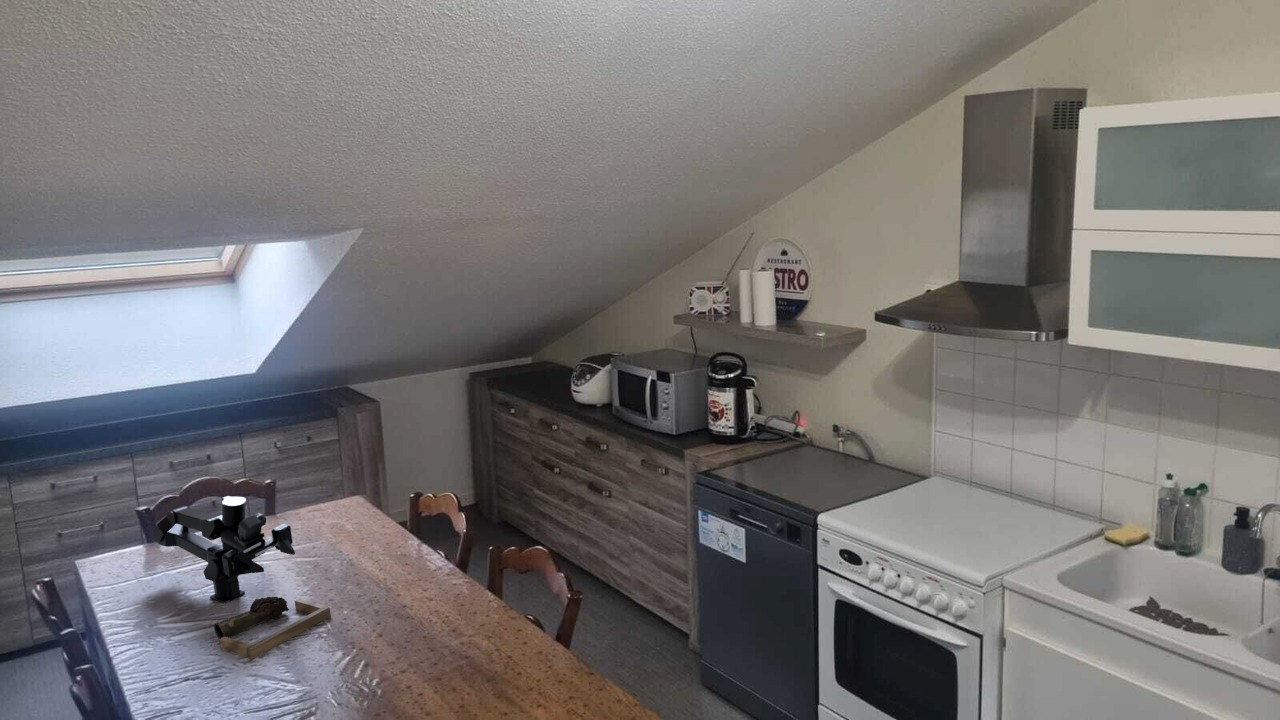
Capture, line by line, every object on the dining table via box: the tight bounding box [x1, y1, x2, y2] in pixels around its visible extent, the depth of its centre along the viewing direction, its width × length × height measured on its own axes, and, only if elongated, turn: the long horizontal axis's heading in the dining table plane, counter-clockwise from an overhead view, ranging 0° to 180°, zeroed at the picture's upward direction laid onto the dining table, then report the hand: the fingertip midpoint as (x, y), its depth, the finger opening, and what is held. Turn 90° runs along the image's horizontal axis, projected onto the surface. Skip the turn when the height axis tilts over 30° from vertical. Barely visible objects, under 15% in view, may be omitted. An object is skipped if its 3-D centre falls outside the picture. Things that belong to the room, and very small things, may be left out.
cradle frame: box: [219, 598, 332, 660], centre depth 236 cm, size 11×24×2 cm, turn 150°
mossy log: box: [213, 596, 290, 640], centre depth 240 cm, size 18×7×6 cm, turn 138°
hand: (279, 561), depth 240 cm, fingers open, 9 cm apart
